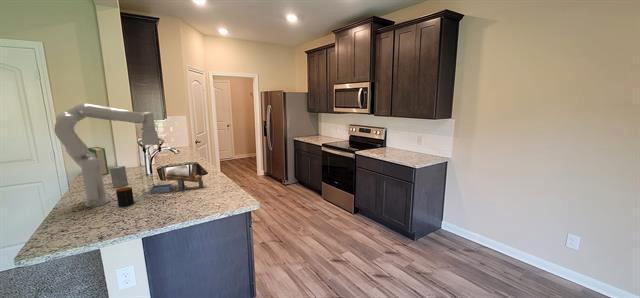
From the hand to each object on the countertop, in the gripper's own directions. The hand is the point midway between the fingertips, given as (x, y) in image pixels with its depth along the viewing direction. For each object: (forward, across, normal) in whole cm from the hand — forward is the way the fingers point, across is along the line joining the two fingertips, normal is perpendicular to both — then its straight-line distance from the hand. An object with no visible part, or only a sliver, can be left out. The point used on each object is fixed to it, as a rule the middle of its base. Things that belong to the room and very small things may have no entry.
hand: (152, 152), depth 199 cm
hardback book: (+29, -63, +68) cm, 97 cm away
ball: (+20, +30, -7) cm, 37 cm away
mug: (+29, -10, -30) cm, 43 cm away
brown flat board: (+21, +20, -2) cm, 29 cm away
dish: (+28, +5, -7) cm, 30 cm away
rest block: (+28, +32, -8) cm, 43 cm away
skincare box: (+29, -30, +17) cm, 45 cm away
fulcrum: (+28, +18, -7) cm, 34 cm away
